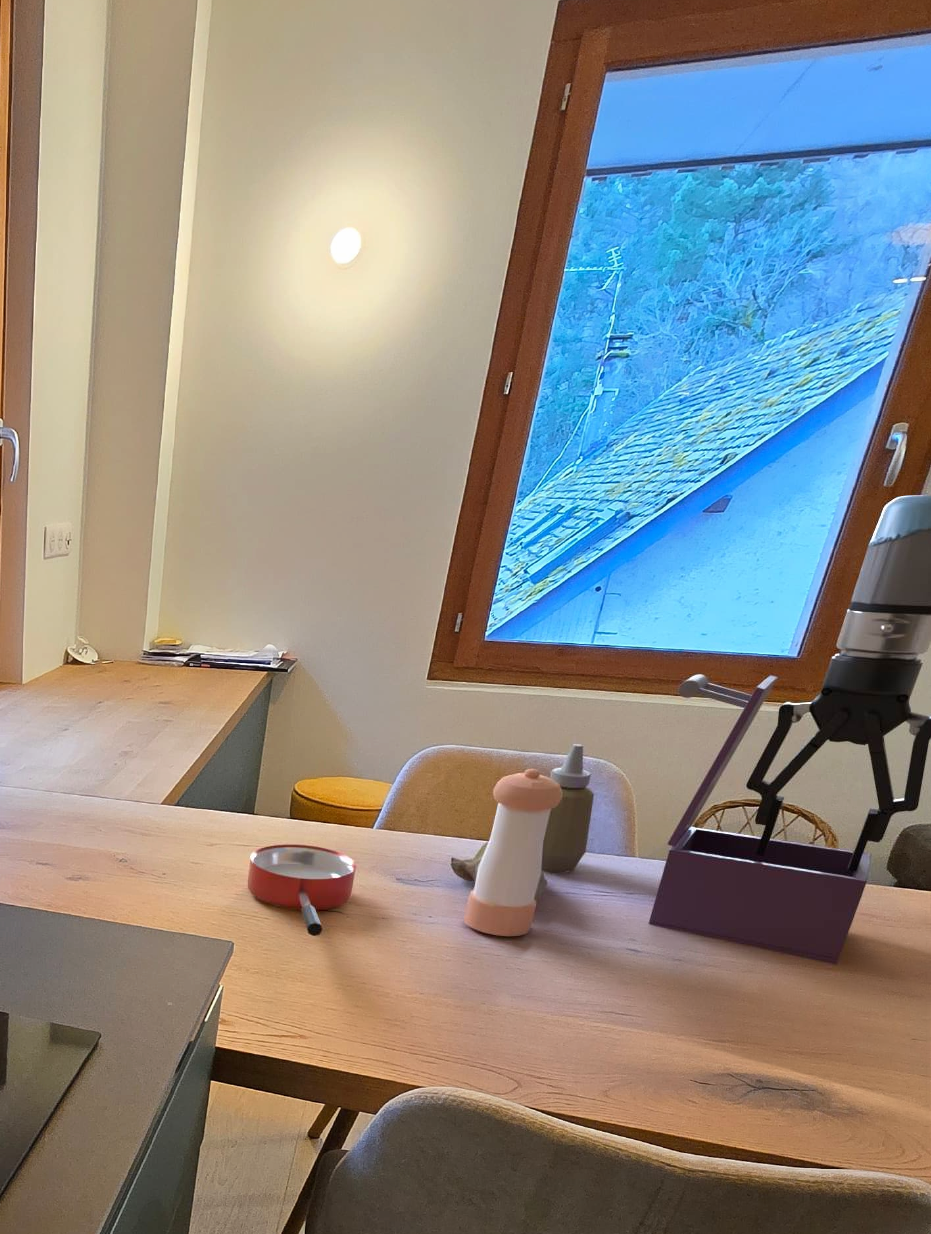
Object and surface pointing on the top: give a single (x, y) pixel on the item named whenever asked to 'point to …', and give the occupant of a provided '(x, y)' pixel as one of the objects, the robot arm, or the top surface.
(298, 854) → the frying pan
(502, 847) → the salt shaker
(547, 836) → the squeeze bottle
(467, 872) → the ceramic sculpture
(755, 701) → the lid
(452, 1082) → the top surface
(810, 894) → the box
